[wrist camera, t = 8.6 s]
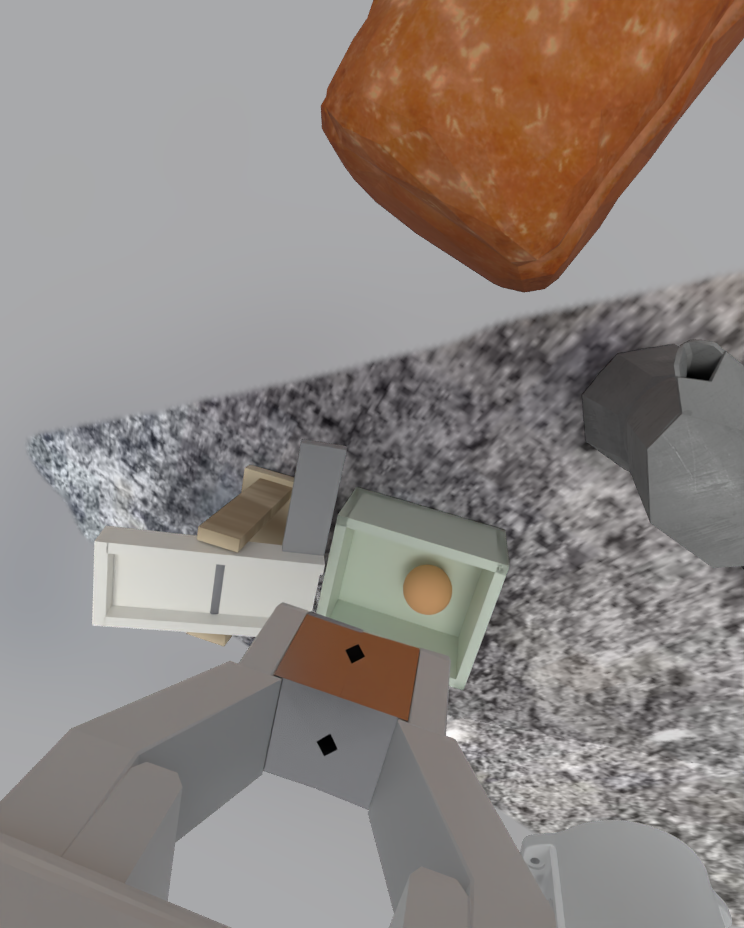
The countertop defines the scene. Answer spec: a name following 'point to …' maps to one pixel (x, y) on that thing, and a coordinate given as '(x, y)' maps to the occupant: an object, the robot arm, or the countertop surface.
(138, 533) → the lever
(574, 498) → the countertop surface
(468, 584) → the bin
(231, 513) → the lever base
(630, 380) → the coffeepot
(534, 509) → the countertop surface
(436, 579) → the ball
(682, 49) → the bread
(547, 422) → the countertop surface
